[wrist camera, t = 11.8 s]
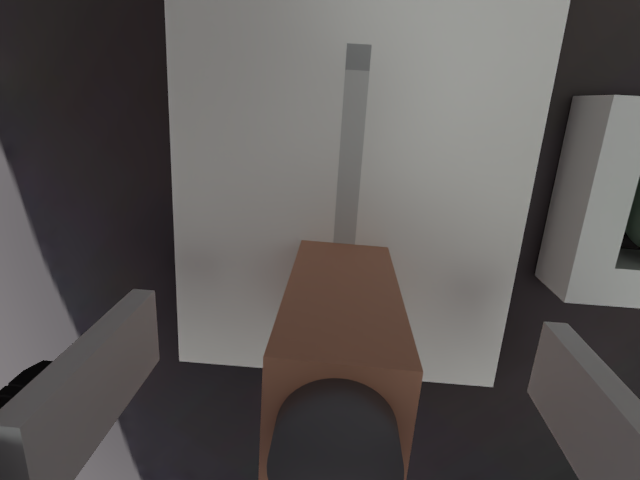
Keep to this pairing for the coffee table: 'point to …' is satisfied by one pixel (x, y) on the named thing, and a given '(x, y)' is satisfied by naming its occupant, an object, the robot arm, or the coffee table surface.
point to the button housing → (594, 205)
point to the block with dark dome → (339, 370)
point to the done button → (634, 218)
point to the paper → (356, 160)
